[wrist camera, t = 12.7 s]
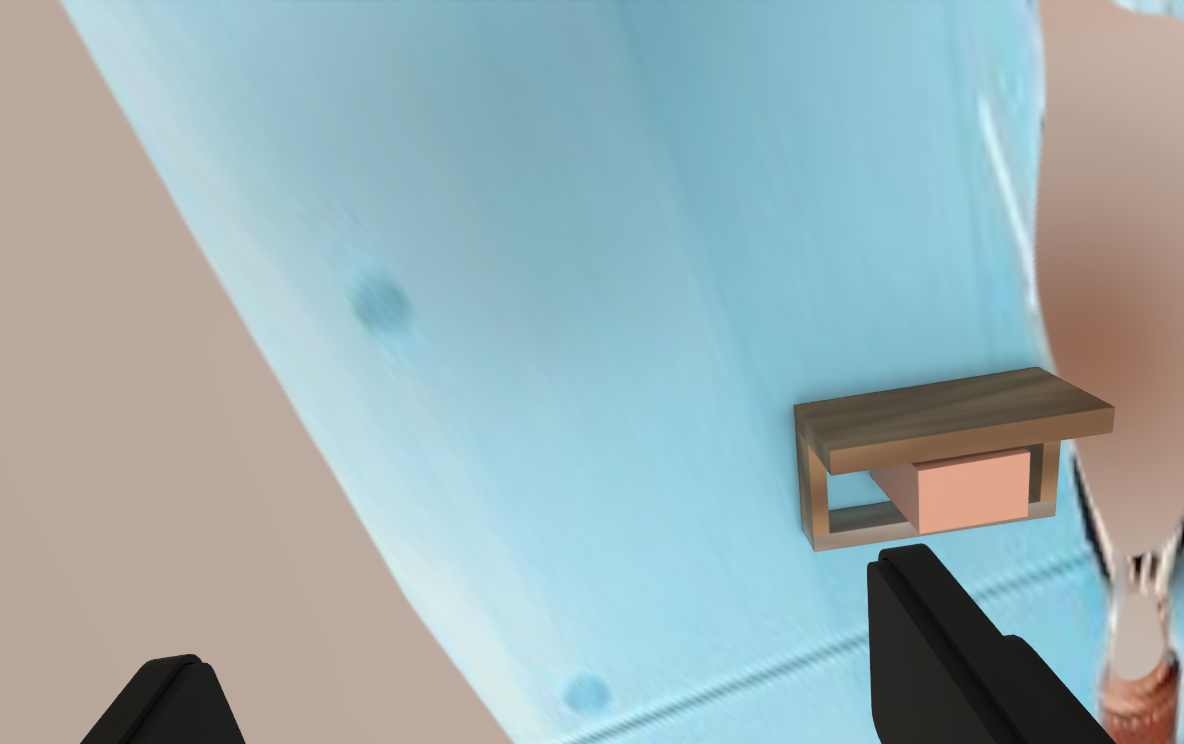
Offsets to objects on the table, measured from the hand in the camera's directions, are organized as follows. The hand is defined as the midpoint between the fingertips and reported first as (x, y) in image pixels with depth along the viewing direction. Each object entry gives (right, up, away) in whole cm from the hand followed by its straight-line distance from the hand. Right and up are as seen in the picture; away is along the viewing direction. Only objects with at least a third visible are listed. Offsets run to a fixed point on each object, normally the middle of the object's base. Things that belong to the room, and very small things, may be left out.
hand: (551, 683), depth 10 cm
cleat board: (+21, -1, +35) cm, 41 cm away
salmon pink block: (+21, 0, +35) cm, 41 cm away
